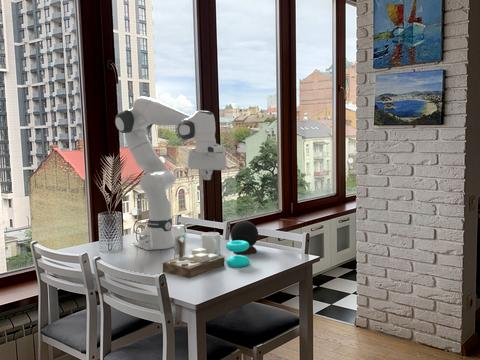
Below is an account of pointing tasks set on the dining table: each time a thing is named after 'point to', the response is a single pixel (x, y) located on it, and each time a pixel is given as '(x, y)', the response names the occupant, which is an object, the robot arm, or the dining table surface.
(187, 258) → the button
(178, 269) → the board
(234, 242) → the donuts
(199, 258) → the button
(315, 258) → the dining table surface
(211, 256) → the button
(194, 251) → the button
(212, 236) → the mug
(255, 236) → the black ball on stand
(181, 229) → the beer glass
